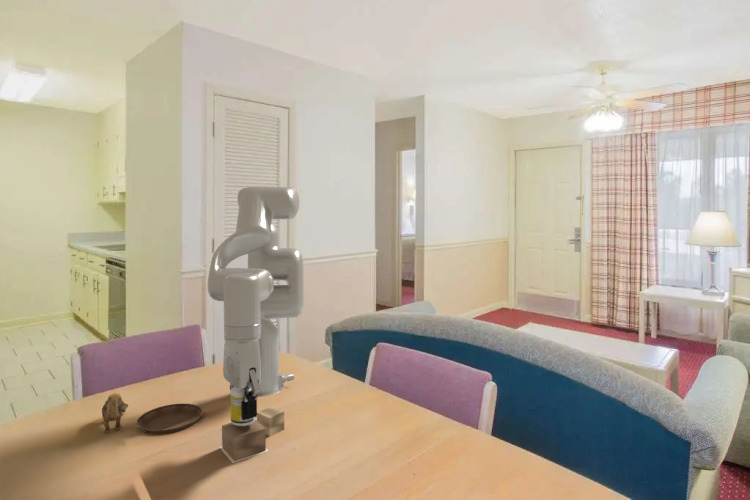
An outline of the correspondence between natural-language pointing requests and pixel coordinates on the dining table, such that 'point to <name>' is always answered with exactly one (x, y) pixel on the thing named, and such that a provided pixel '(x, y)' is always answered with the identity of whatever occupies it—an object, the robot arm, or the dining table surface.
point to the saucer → (168, 418)
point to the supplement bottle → (238, 407)
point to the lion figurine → (113, 411)
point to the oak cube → (271, 420)
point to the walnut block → (243, 440)
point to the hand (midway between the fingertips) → (243, 412)
